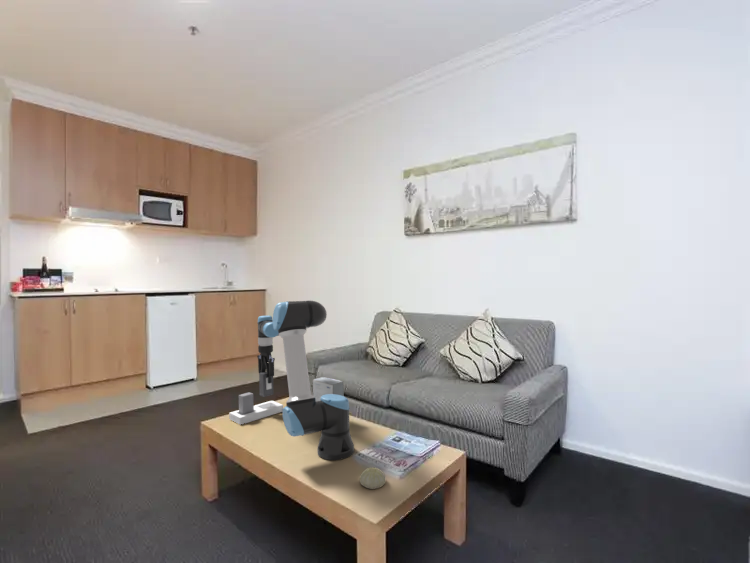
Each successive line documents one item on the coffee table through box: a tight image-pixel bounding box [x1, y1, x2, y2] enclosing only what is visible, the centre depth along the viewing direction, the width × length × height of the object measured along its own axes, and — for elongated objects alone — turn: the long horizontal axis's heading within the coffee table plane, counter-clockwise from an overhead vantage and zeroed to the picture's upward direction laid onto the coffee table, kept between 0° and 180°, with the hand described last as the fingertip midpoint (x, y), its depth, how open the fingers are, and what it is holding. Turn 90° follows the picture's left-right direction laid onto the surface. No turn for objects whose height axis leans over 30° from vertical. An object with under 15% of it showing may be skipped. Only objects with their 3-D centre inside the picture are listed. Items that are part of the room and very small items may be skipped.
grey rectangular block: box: [258, 372, 275, 398], centre depth 211 cm, size 4×6×12 cm, turn 137°
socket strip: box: [228, 392, 284, 426], centre depth 207 cm, size 11×25×12 cm, turn 137°
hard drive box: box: [312, 376, 345, 401], centre depth 199 cm, size 16×8×20 cm, turn 49°
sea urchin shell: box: [359, 467, 386, 490], centre depth 139 cm, size 9×8×8 cm
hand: (266, 388), depth 211 cm, fingers closed on grey rectangular block, 4 cm apart
